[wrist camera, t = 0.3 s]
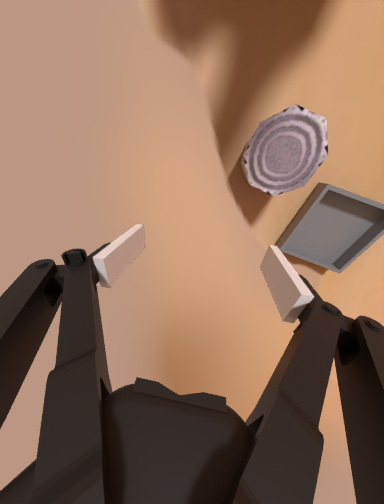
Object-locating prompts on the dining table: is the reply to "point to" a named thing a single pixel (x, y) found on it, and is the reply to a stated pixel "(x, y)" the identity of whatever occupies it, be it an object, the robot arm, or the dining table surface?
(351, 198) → the tray
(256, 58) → the dining table surface
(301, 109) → the can
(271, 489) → the robot arm
